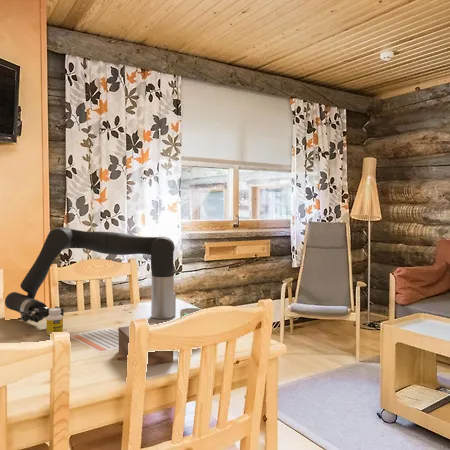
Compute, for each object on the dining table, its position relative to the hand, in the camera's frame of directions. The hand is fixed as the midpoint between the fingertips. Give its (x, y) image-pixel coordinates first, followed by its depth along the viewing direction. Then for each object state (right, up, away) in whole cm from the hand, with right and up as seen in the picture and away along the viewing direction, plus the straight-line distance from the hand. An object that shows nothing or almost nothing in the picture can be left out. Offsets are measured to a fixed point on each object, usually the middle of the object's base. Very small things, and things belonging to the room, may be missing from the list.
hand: (49, 317), depth 160 cm
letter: (+21, -6, -5) cm, 23 cm away
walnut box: (+38, -8, -22) cm, 45 cm away
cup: (+51, -7, -4) cm, 52 cm away
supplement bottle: (+3, -6, -3) cm, 8 cm away
